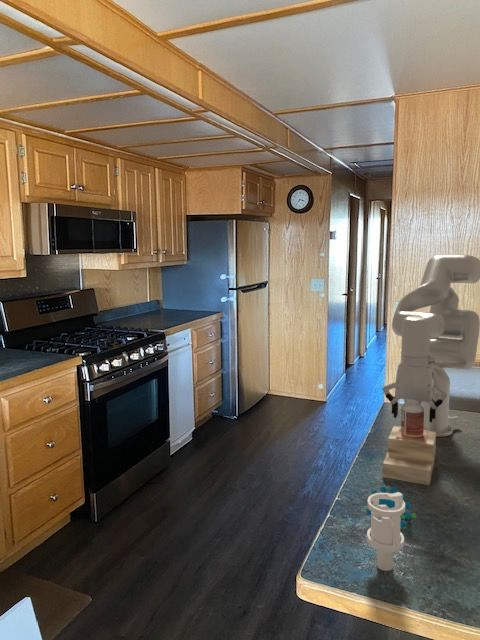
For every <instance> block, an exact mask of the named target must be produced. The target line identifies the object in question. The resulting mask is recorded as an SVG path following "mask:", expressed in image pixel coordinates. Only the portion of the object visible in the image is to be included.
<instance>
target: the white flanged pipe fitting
mask: <svg viewBox="0 0 480 640" xmlns="http://www.w3.org/2000/svg"><path fill="white" fill-rule="evenodd" d="M389 493H390V492H389ZM389 493H388V492H385V493H382V492H377V493H375V494H372V493H371V494H370V495H369V496H368V498H367V499H368V503H366V504H367V508H369V510H370V511H371V515H370V528H368V529H367V531H366V542H367V544H369V545H370V546H371V547H372V548H373V549H375V550H376V567H377V569H379V570H381V571H384V572H389V571H392V570H393V569H394V568H393V566H394V565H393V564H394V563H393V562H394V561H393V560H394V558H393V557H394V552H398V551H400V550H402V549H403V547H404V545H405V536H404V535H403V533H402V531H401V527H400V522H401V518H400V516H401V515H402V513H404V512H406V507H405V503H406V501H404V500H403V494H401V493H402V492H399V491H397V492H396V493H393V494H389ZM379 499H388V500H392V501H395V507H392V508H389V507H388V506H386V505H379ZM371 502H372V503H373V505H372V504H371ZM389 517H393V518H389Z"/></svg>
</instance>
